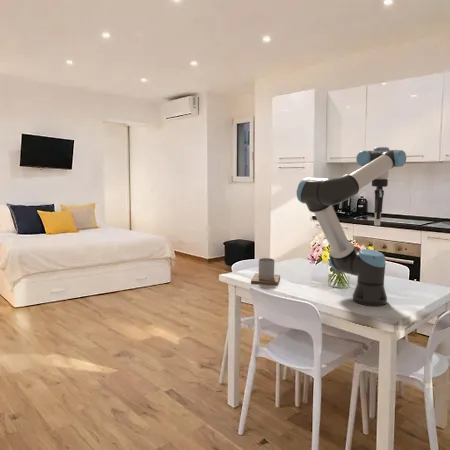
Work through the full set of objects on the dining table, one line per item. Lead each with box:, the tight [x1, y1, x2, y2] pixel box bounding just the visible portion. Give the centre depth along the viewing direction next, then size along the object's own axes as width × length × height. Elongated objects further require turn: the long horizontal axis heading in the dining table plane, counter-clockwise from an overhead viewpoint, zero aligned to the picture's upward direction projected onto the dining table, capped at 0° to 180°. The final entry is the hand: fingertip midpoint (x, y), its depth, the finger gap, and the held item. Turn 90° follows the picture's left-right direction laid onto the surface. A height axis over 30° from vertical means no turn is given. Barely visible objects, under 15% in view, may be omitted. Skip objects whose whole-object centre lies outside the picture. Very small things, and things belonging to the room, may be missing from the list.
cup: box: [258, 257, 275, 280], centre depth 232 cm, size 8×8×10 cm
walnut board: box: [250, 272, 281, 286], centre depth 233 cm, size 16×14×2 cm
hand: (377, 225), depth 217 cm, fingers closed
